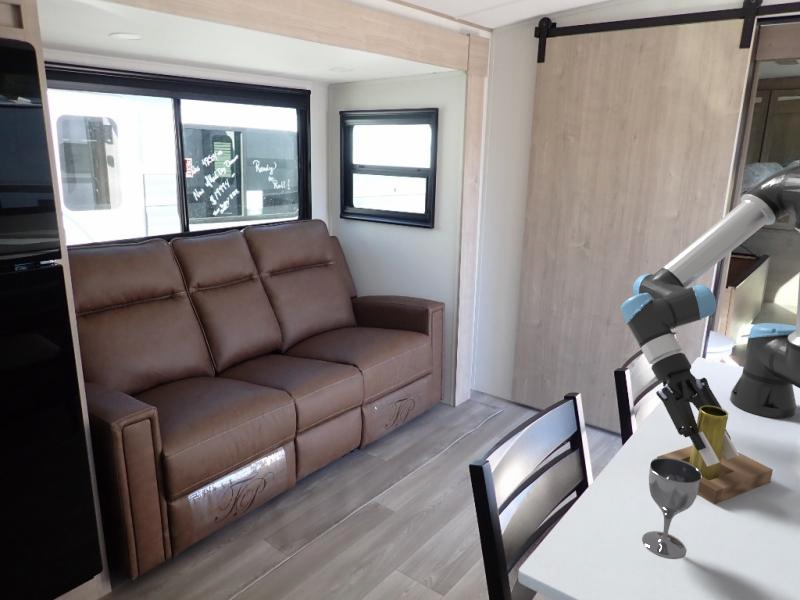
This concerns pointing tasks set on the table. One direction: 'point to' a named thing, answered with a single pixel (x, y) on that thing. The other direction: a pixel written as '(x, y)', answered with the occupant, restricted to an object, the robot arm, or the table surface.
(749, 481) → the frame
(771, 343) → the robot arm
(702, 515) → the table surface
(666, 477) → the wine glass
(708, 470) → the vase
